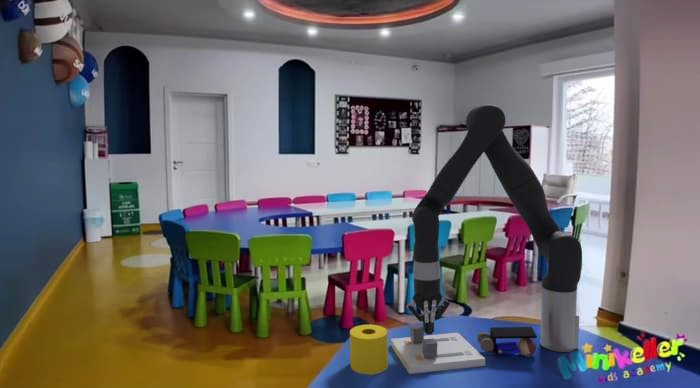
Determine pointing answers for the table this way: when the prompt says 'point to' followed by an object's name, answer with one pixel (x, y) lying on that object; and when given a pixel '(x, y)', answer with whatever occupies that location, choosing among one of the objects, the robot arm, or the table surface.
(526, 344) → the black toy car
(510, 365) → the table surface
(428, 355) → the on handle
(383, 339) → the tape roll
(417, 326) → the handle
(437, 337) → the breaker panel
